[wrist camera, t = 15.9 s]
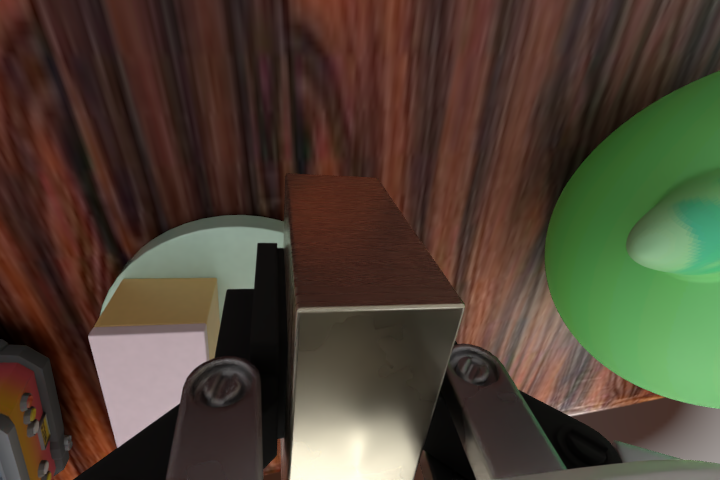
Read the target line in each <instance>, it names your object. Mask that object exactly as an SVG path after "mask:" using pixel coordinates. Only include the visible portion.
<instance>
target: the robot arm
mask: <svg viewBox="0 0 720 480" xmlns="http://www.w3.org/2000/svg"><path fill="white" fill-rule="evenodd" d="M287 350H288V335H287V311H286V287H285V263H284V248H277V243H257V256H256V270H255V283H254V289H227V291H226V296H225V301H224V307H223V313H222V318H221V324H220V329H219V335H218V341H217V346H216V352H215V357H214V358H213V359H211V360H209V361H206V362H204V363H202V364H201V365H199V366H198V367H196V368H195V369H194V370H193V371H192V372H191V373H190V374H189V376H188V377H187V378H186V381H185V383H184V386H183V390H182V395H181V400H180V404H178V405H177V406H175V407H174V408H173V409H171V410H170V411H168V412H167V413H166V414H164V415H163V416H161V417H160V418H159V419H157V420H156V421H154V422H153V423H152V424H150V425H149V426H147V427H146V428H145V429H143V430H142V431H140V432H139V433H138V434H136V435H135V436H133V437H132V438H131V439H129V440H128V441H126V442H125V443H124V444H122V445H121V446H120V447H118V448H117V449H115V450H114V451H113V452H111V453H110V454H108V455H107V456H106V457H104V458H103V459H101V460H100V461H99V462H97V463H96V464H94V465H93V466H92V467H90V468H89V469H87V470H86V471H85V472H83V473H82V474H80V475H79V476H78V477H76V478H75V479H73V480H263V469H264V468H265V467H266V466H267V465H268V464H269V463H270V462H271V461H272V460H273V459H274V458H275V457H276V455H277V439H280V438H284V426H285V401H286V376H287ZM419 463H420V466H421V470H422V474H423V477H424V480H720V464H717V463H711V462H703V461H694V460H683V459H679V458H675V457H672V456H668V455H665V454H661V453H657V452H654V451H651V450H647V449H643V448H640V447H636V446H632V445H629V444H626V443H622V442H619V441H614V442H613V443H612V445H611V443H610V442H609V441H608V440H607V439H606V438H604V437H603V436H602V435H601V434H600V433H599V432H597V431H595V430H594V429H592V428H590V427H589V426H587V425H585V424H584V423H582V422H579V421H578V420H576V419H574V418H572V417H570V416H568V415H566V414H564V413H562V412H560V411H558V410H556V409H554V408H553V407H551V406H549V405H547V404H545V403H543V402H541V401H539V400H537V399H535V398H533V397H531V396H529V395H527V394H525V393H524V392H522V391H520V390H518V389H517V387H516V385H515V384H514V382H513V381H512V379H511V377H510V376H509V374H508V372H507V371H506V369H505V367H504V366H503V365H502V363H501V362H500V361H499V360H498V358H497V357H495V356H494V355H493V354H491V353H490V352H489V351H487V350H485V349H483V348H481V347H478V346H475V345H471V344H457V342H456V341H455V342H454V346H453V349H452V353H451V356H450V359H449V363H448V366H447V369H446V373H445V376H444V379H443V383H442V386H441V389H440V393H439V396H438V399H437V403H436V406H435V410H434V413H433V416H432V420H431V423H430V426H429V430H428V433H427V436H426V440H425V443H424V446H423V450H422V453H421V457H420V460H419Z"/></svg>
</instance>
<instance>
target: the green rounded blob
mask: <svg viewBox="0 0 720 480" xmlns="http://www.w3.org/2000/svg"><path fill="white" fill-rule="evenodd" d="M545 270H546V277H547V282H548V286H549V290H550V293H551V296H552V299H553V301H554V304H555V306H556V308H557V310H558V312H559V314H560V316H561V318H562V319H563V321H564V323H565V324H566V326H567V327H568V329H569V330H570V332H571V333H572V334H573V335H574V337H575V338H576V339H577V340H578V342H579V343H580V344H581V345H582V346H583V347H584V348H585V349H586V350H587V351H588V352H589V353H590V354H591V355H592V356H593V357H594V358H596V359H597V360H598V361H599V362H600V363H602V364H603V365H604V366H606V367H607V368H608V369H610V370H611V371H613V372H614V373H616V374H617V375H619V376H620V377H622V378H624V379H626V380H627V381H629V382H631V383H633V384H635V385H637V386H639V387H641V388H643V389H646V390H648V391H651V392H653V393H656V394H658V395H661V396H664V397H667V398H670V399H674V400H677V401H681V402H685V403H689V404H694V405H699V406H704V407H711V408H718V409H720V71H717V72H715V73H712V74H710V75H708V76H705V77H703V78H700V79H698V80H696V81H694V82H692V83H689V84H687V85H685V86H683V87H681V88H679V89H677V90H675V91H673V92H671V93H670V94H668V95H666V96H664V97H662V98H661V99H659V100H657V101H656V102H654V103H652V104H651V105H649V106H647V107H646V108H644V109H643V110H641V111H640V112H638V113H637V114H636V115H634V116H633V117H631V118H630V119H629V120H627V121H626V122H625V123H623V124H622V125H621V126H620V127H618V128H617V129H616V130H615V131H614V132H612V133H611V134H610V135H609V136H608V137H607V138H606V139H605V140H603V141H602V142H601V143H600V144H599V145H598V146H597V147H596V148H595V149H594V150H593V151H592V152H591V153H590V155H589V156H588V157H587V158H586V159H585V160H584V161H583V163H582V164H581V165H580V166H579V167H578V169H577V170H576V171H575V173H574V174H573V175H572V177H571V178H570V180H569V181H568V183H567V184H566V186H565V188H564V189H563V191H562V193H561V195H560V197H559V199H558V201H557V203H556V205H555V207H554V210H553V213H552V215H551V219H550V222H549V226H548V230H547V235H546V242H545Z"/></svg>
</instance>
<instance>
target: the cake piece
mask: <svg viewBox="0 0 720 480" xmlns="http://www.w3.org/2000/svg"><path fill="white" fill-rule="evenodd" d="M219 329H220V317H219V301H218V285H217V278H147V279H123V280H122V281H121V283H120V285H119V286H118V288H117V289H116V291H115V293H114V294H113V296H112V298H111V299H110V301H109V303H108V304H107V306H106V307H105V309H104V311H103V312H102V314H101V316H100V317H99V319H98V321H97V322H96V324H95V326H94V328H93V329H92V330H91V332H90V334H89V335H88V339H89V342H90V346H91V350H92V354H93V358H94V361H95V365H96V369H97V373H98V377H99V380H100V384H101V388H102V392H103V396H104V399H105V403H106V407H107V411H108V415H109V418H110V422H111V426H112V430H113V434H114V437H115V441H116V445H117V448H118V447H120V446H121V445H122V444H124V443H125V442H126V441H128V440H129V439H131V438H132V437H133V436H135V435H136V434H138V433H139V432H140V431H142V430H143V429H145V428H146V427H147V426H149V425H150V424H152V423H153V422H154V421H156V420H157V419H159V418H160V417H161V416H163V415H164V414H166V413H167V412H168V411H170V410H171V409H173V408H174V407H175V406H177V405H178V404H180V400H181V395H182V390H183V386H184V383H185V381H186V378H187V377H188V376H189V374H190V373H191V372H192V371H193V370H194V369H195V368H196V367H198V366H199V365H201V364H202V363H204V362H206V361H209V360H211V359H213V358H214V357H215V352H216V346H217V341H218V335H219Z"/></svg>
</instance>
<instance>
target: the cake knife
mask: <svg viewBox="0 0 720 480" xmlns="http://www.w3.org/2000/svg"><path fill="white" fill-rule="evenodd" d="M283 248H284V263H285V287H286V311H287V335H288V350H287V376H286V401H285V426H284V438H281V480H414V477H415V473H416V469H417V466H418V463H419V460H420V457H421V453H422V450H423V446H424V443H425V440H426V436H427V433H428V430H429V426H430V423H431V420H432V416H433V413H434V410H435V406H436V403H437V399H438V396H439V393H440V389H441V386H442V383H443V379H444V376H445V373H446V369H447V366H448V363H449V359H450V356H451V353H452V349H453V346H454V342H455V339H456V336H457V332H458V329H459V326H460V322H461V319H462V316H463V312H464V309H465V305H464V303H463V301H462V300H461V298H460V297H459V295H458V294H457V292H456V291H455V290H454V288H453V287H452V285H451V284H450V282H449V281H448V279H447V278H446V277H445V275H444V274H443V272H442V271H441V269H440V268H439V266H438V265H437V264H436V262H435V261H434V259H433V258H432V256H431V255H430V253H429V252H428V251H427V249H426V248H425V246H424V245H423V243H422V242H421V241H420V239H419V238H418V236H417V235H416V233H415V232H414V230H413V229H412V228H411V226H410V225H409V223H408V222H407V220H406V219H405V217H404V216H403V215H402V213H401V212H400V210H399V209H398V207H397V206H396V204H395V203H394V202H393V200H392V199H391V197H390V196H389V194H388V193H387V191H386V190H385V189H384V187H383V186H382V184H381V183H380V181H379V180H378V179H377V178H369V177H349V176H329V175H309V174H289V173H288V174H286V176H285V208H284V243H283Z"/></svg>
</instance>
